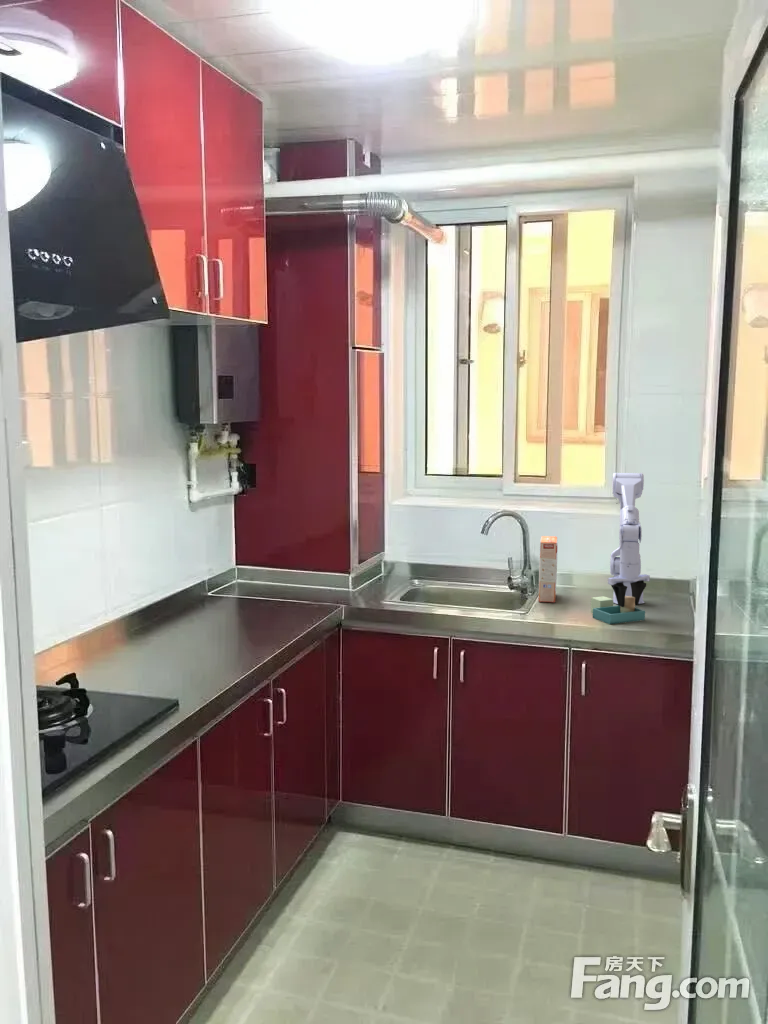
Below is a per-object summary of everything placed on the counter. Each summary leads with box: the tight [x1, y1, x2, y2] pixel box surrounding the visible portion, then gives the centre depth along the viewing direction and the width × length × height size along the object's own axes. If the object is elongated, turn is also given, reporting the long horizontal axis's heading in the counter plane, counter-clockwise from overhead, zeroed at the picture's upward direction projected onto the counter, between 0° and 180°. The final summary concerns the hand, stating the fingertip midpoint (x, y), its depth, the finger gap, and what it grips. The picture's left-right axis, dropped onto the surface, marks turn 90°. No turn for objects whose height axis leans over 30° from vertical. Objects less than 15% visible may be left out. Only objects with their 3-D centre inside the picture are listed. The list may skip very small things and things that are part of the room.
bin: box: [592, 605, 646, 625], centre depth 274 cm, size 13×9×3 cm
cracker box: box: [538, 535, 558, 603], centre depth 302 cm, size 14×6×21 cm, turn 168°
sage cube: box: [590, 595, 614, 614], centre depth 281 cm, size 5×5×5 cm
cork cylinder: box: [620, 596, 636, 613], centre depth 275 cm, size 4×4×6 cm
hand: (628, 605), depth 275 cm, fingers open, 5 cm apart
